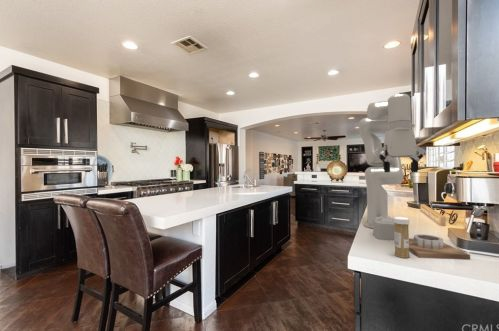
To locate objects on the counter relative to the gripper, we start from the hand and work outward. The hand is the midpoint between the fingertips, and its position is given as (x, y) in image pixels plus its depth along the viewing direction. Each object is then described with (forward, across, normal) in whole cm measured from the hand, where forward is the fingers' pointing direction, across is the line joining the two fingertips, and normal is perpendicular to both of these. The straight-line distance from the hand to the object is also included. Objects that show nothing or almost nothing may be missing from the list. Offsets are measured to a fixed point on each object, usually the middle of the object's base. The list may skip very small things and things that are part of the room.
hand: (400, 172), depth 91 cm
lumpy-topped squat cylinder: (+29, -2, -20) cm, 35 cm away
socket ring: (+28, -10, -3) cm, 30 cm away
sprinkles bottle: (+30, +3, +5) cm, 30 cm away
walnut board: (+29, -10, -3) cm, 31 cm away
